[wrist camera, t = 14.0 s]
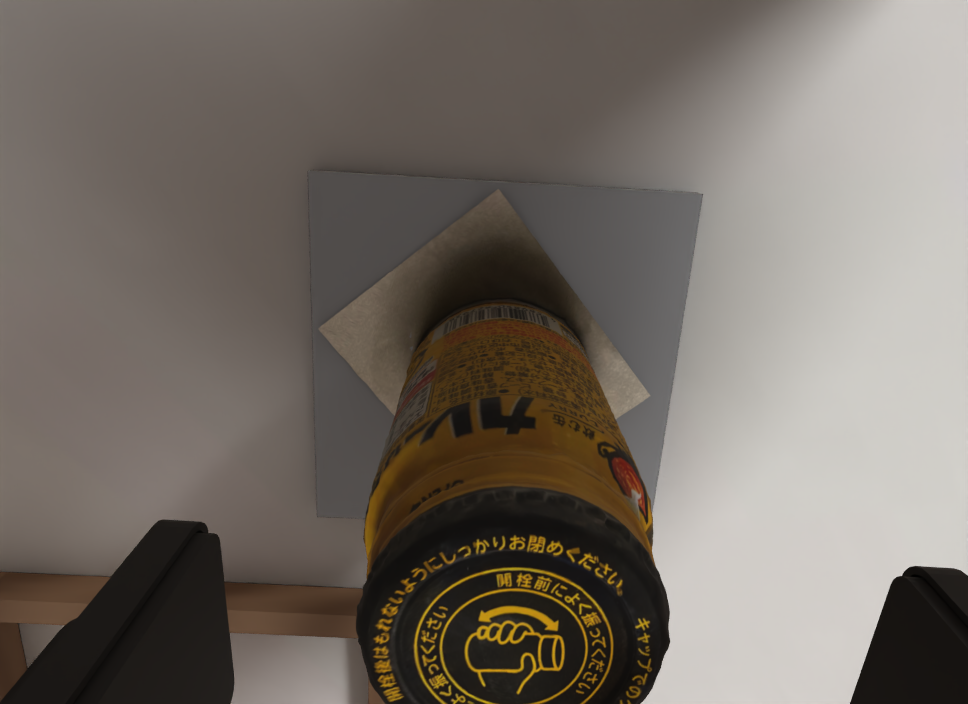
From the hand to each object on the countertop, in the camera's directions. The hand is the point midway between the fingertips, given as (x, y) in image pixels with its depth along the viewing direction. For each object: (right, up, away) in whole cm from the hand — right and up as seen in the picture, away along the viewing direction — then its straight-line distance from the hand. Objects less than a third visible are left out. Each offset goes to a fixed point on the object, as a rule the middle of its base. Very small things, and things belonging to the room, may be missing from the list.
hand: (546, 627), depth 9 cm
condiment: (-1, +4, +13) cm, 13 cm away
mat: (-1, +3, +13) cm, 14 cm away
